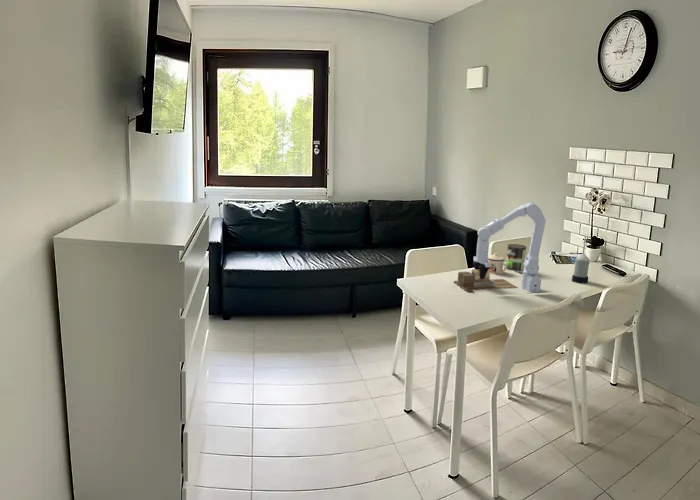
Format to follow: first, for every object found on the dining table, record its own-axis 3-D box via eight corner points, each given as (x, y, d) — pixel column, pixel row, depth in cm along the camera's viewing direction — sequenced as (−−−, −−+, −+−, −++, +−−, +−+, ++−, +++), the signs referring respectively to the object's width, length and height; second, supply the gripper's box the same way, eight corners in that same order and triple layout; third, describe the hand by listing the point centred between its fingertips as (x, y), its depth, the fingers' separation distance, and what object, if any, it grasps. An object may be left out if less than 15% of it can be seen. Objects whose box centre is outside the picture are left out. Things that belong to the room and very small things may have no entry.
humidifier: (579, 278, 297) (585, 233, 292) (591, 282, 290) (597, 237, 284) (568, 279, 294) (573, 234, 289) (579, 284, 287) (585, 237, 281)
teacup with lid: (482, 272, 304) (484, 252, 301) (493, 270, 309) (495, 250, 306) (499, 277, 294) (501, 256, 292) (510, 275, 300) (512, 255, 297)
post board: (518, 289, 273) (519, 276, 272) (466, 292, 267) (468, 278, 266) (502, 280, 289) (504, 268, 287) (453, 282, 282) (454, 269, 281)
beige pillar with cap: (488, 284, 276) (490, 271, 274) (473, 284, 274) (474, 271, 272) (485, 282, 280) (486, 269, 278) (470, 282, 278) (471, 269, 276)
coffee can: (513, 273, 305) (516, 248, 302) (501, 268, 314) (503, 244, 311) (527, 271, 309) (530, 247, 306) (515, 267, 318) (517, 243, 315)
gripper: (468, 248, 279) (466, 273, 282) (481, 254, 265) (479, 281, 268) (481, 247, 280) (479, 273, 284) (494, 254, 267) (492, 281, 270)
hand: (480, 277), depth 276 cm, fingers open, 4 cm apart
